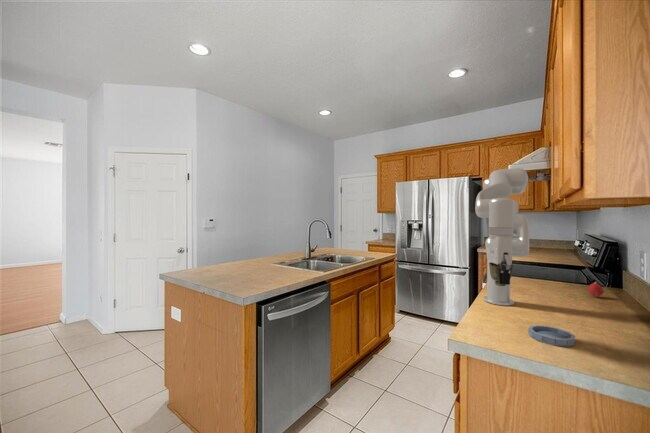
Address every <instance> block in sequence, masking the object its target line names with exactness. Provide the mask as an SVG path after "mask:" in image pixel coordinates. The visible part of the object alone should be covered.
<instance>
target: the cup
mask: <svg viewBox="0 0 650 433" xmlns="http://www.w3.org/2000/svg"><path fill="white" fill-rule="evenodd" d="M502 264H505V263H502ZM503 267H504V266H502V268H503ZM510 268H511V269H510V280H511V278H512V275H513V268H514V264H511V267H510ZM489 269H490V275H491V278H492V279H493V280H495V285H497V286H506V284H499V272H500V265H499V264H498V265H496V264H494V263H491V262H490V263H489Z"/></svg>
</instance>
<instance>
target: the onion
mask: <svg viewBox="0 0 650 433" xmlns="http://www.w3.org/2000/svg"><path fill="white" fill-rule="evenodd" d="M587 292H588V293H589V294H590V295H591V296H593V297H594V298H599V297H600V296H602V295H603V294H604V293H605V292H604V288H603V287H602V285H600V284H599V283H598V282H597V281H595V282H593V283H591V284H589V286H588V287H587Z"/></svg>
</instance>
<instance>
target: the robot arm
mask: <svg viewBox="0 0 650 433" xmlns="http://www.w3.org/2000/svg"><path fill="white" fill-rule="evenodd" d="M528 182H529V175H528V172H527V171H526V170H525V169H524V168H521V167H518V168H517V167H516V168H515V167H514V168H502V169H501V168H500V169H495V170H494V171H492V172H491V173H490V174H489V176H488V178H487V179H484V180H483V183H482V190H480V191H479V192H478V194H477V196H476V198H475V207H474V209H475V210H474V211H475V214H476V216H477V217H478V218H481V219H488V237H487V238H486V239H485V244H484V246H485V251H486V259H487V260H486V262H487V263H486V265H487V266H486V268H487V271H486V273H487V274H486V284H487V285H486V295H485V296H483V301H484V302H486V303H488V304H492V305H497V306H504V307H505V306H514V305H515V301H514V300H513V299H511V279H510V269H511V268H510V267H511V264H512V262H513V258H525V257H528V255H529V253H530V228H529V225H530V224H529V219H528V217H527V216H526V215H525V214H523V213H519V208H520V207H519V203H518V202H517V201H516V200H515V199H513V198H509V197H510V196H511V195H521V194H523V193H525V191H526V189H527V186H528ZM514 235H516V236H514ZM490 262H491V263H494V264H496V265H498V264H499V265H500V272H499V284H506V286H497V285H495V280H493V279H492V278H491V275H490V269H489V263H490ZM502 263H505V264H502ZM502 266H504V267H503V268H502Z"/></svg>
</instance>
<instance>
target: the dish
mask: <svg viewBox="0 0 650 433" xmlns="http://www.w3.org/2000/svg"><path fill="white" fill-rule="evenodd" d="M528 335H529V337H530V338H532V339H534V340H536V341H538V342H541V343H544V344H546V345H552V346H556V347H566V348H567V347H574V346H575V345H576V335H574V334H573V333H571V332H570V331H567V330H564V329H561V328H558V327H554V326H549V325H542V324H541V325H540V324H535V325H534V324H533V325H529V327H528Z"/></svg>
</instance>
